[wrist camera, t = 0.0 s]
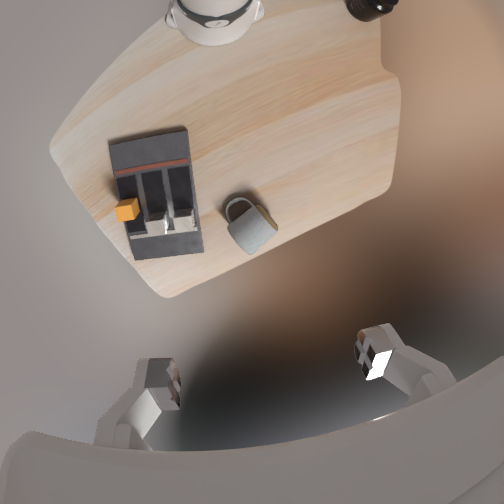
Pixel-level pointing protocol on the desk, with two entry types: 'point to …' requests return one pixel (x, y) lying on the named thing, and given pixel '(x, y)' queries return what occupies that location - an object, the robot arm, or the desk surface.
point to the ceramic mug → (251, 227)
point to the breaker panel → (159, 195)
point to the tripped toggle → (127, 209)
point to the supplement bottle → (370, 8)
